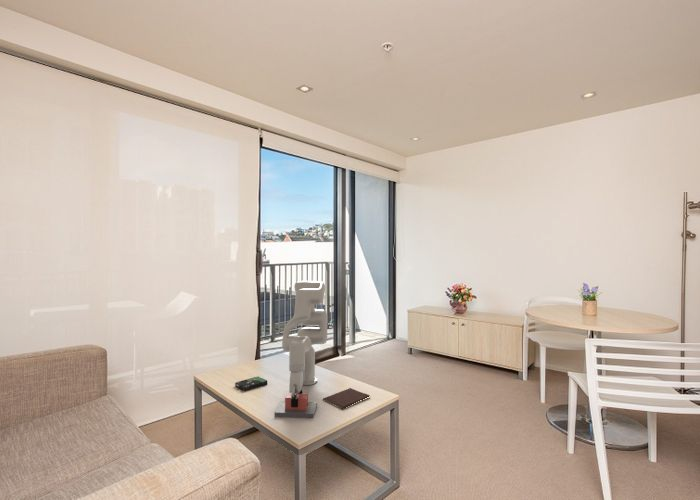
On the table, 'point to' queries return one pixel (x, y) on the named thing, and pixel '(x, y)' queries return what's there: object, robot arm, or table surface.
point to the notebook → (346, 398)
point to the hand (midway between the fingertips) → (296, 402)
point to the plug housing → (301, 402)
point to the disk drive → (251, 383)
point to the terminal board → (296, 411)
